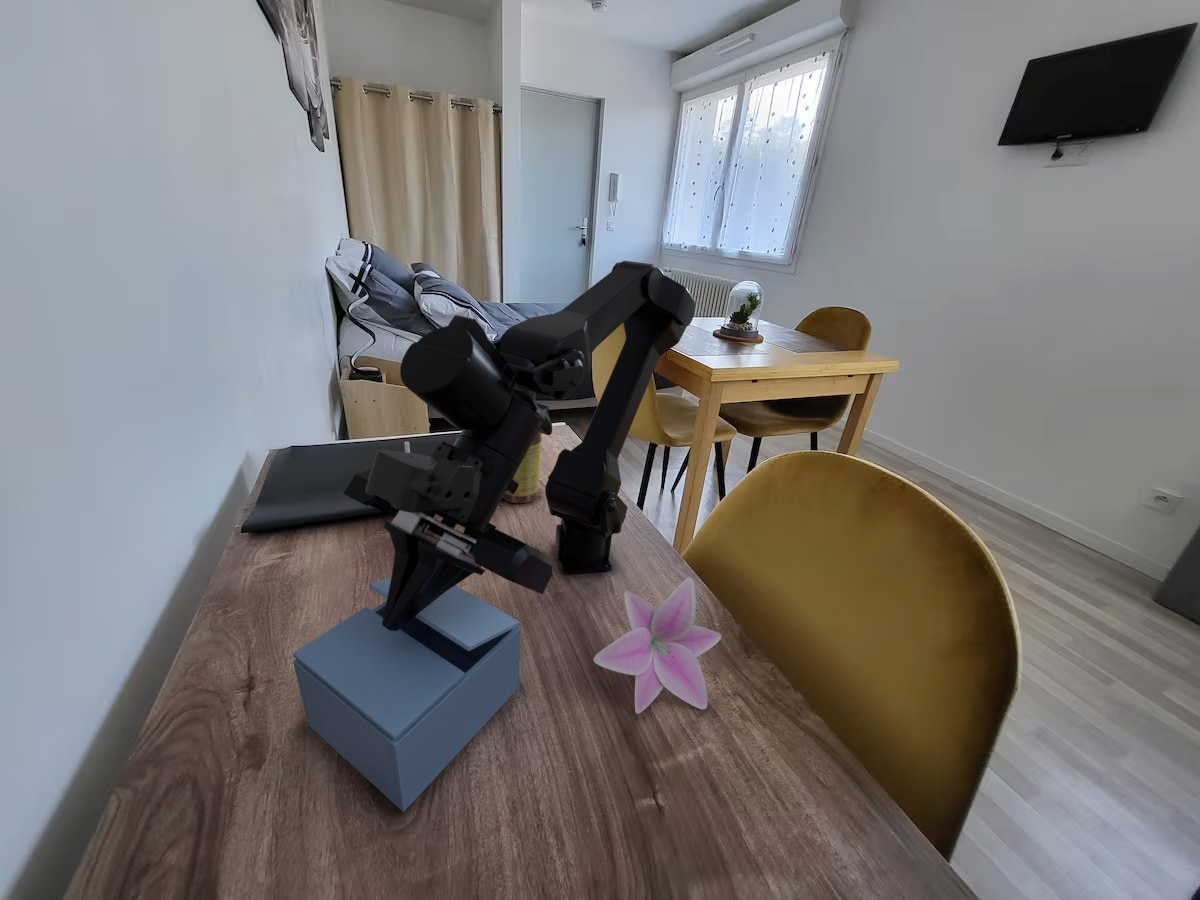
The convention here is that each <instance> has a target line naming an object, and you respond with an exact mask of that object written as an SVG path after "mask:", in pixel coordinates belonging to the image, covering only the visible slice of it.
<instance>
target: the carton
mask: <svg viewBox="0 0 1200 900" xmlns="http://www.w3.org/2000/svg"><path fill="white" fill-rule="evenodd" d="M386 601H387V600H385V601H383V602H382V603H381V604H379V605H378V606H376V607H375V608H373V609H371V608H369V607H367V606H364V607H363V608H361V609H360V610H359V611H357V612H355V613H354V614H352V615H351V616H349V617H348V618H346V619H344V620H343V621H341V622H339V623H338V624H336V625H334V626H333V627H332V628H330V629H328V630H327V631H324V633H322V634H320V635H318V636H317V637H316V638H313V640H310V641H309V642H308V643H306V644H305V645H303V646H301V647H300V648H298V649H296V650H295V651H294V652H292V657H293V658H294V660H292V663H293V667H294V671H295V675H296V679H297V680H296V681H297V683H298V688H299V693H300V696H301V701H302V705H303V709H304V714H305V717H306V722H307V725H308V727H309V728H310V729H312V731H314V732H315V733H316V734H317V735H318V736H319V737H320V738H322V739H323V740H324V741H325V742H326V743H327V744H328V745H329V746H330V747H331V748H332V749H334V751H336V752H337V754H339V755H340V756H341V757H342V758H343V759H344V760H346V761H347V762H348V763H349V764H350V765H351V766H352V767H353V768H354V769H355V770H356V771H357V772H359V774H360V775H362V776H363V777H364V778H365V779H366V780H367V781H368V782H370V783H371V784H372V785H373V786H374V787H375V788H376V789H377V790H378V791H379V792H380V793H382V794H383V795H384V796H385V797H386V798H387V799H388V800H389V801H390V802H391V803H393V804H394V805H395V807H397V808H398V809H399V810H400V811H401V812H402V813H404V812H405V811H407V809H408V808H409V807H410V806H411V805H412V804H413V803H414V802H415V801H416V799H417V798H418V797H419V796H420V795H422V794H423V792H424V791H425V790H426V789H427V788H428V787H429V786H430V784H431V783H433V781H434V780H435V779H436V778H437V777H438V776H439V775H440V774H441V773H442V771H443V770H444V769H445V768H446V767H447V766H448V765H449V764H450V763H451V762H452V761H453V760H454V759H455V758H456V756H458V754H459V753H460V752H461V751H462V750H463V749H464V748H465V747H466V746H467V744H469V742H470V741H471V740H472V739H473V738H474V737H475V736H476V735H477V734H478V733H479V732H480V731H481V729H483V727H484V726H485V725H486V724H487V723H488V722H489V721H490V720H491V719H492V718H493V716H494V715H495V714H497V712H498V711H499V710H500V709H501V708H502V707H503V706H504V705H505V703H507V701H508V700H509V699H510V698H511V697H512V696H513V695H514V694H515V693H516V692H517V691H518V689H519V686H520V685H519V681H520V680H519V679H520V648H521V646H520V645H521V644H520V643H521V628H519V626H517V627H515V628H513V629H511V630H509V631H507V632H505V633H503V634H501V635H499V636H497V637H495V638H493V639H491V640H490V641H488V642H486V643H484V644H482V645H480V646H478V647H476V648H474V649H472V650H470V651H467V650H466V649H464V648H463V647H461V646H460V645H458V644H457V643H455V642H453V641H452V640H450V639H449V638H447V637H446V636H444V635H442V634H441V633H439V632H438V631H436V630H435V629H433V628H432V627H430V626H428V625H427V624H425V623H424V622H422V621H421V620H419V619H417V618H416V617H414V618H412V619H411V620H410V621H409V622H407V623H406V624H405V625H404V626H402V627H401V628H400V629H399V630H397V631H391V630H388V629H386V628H385V627H384V626H382V621H383V616H384V611H385V606H386Z"/></svg>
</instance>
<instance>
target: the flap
mask: <svg viewBox="0 0 1200 900" xmlns="http://www.w3.org/2000/svg"><path fill="white" fill-rule="evenodd" d="M390 582H391V577H388V578H385V579H382V580H377V581H373V582H369V585H368V588H369V589H371V590H372V591H374V592H375V593H377V594H378V595H380V596H382V597H383V598H385V599H386V600H387V596H388V592H389V587H390ZM415 617H416V618H417V619H419V620H421V621H422V622H424V623H425V624H427V625H428V626H430V627H432V628H433V629H435V630H436V631H438V632H439V633H441V634H442V635H444V636H446V637H447V638H449V639H450V640H452V641H453V642H455V643H457V644H458V645H460V646H461V647H463V648H464V649H466V650H467V651H470V650H472V649H474V648H476V647H478V646H480V645H482V644H484V643H486V642H488V641H490V640H491V639H493V638H495V637H497V636H499V635H501V634H503V633H505V632H507V631H509V630H511V629H513V628H515V627H519V626H520V623H521V622H520V621H519V620H518V619H516V618H514V617H512V616H511V615H509V614H508V613H506V612H503V611H502V610H501V609H498V608H497V607H495V606H493V605H492V604H490V603H488V602H486V601H485V600H483V599H481V598H479V597H477V596H476V595H474V594H472V593H470V592H468V591H467V590H465V589H463V588H461V587H460V586H458V585H455V586H454V587H452V588H451V589H449V590H448V591H446V592H445V593H443V594H442V595H441V596H440V597H438V598H437V599H436V600H434V601H433V602H432V603H431V604H430V605H428V606H427V607H426V608H425V609H423V610H422V611H421V612H420V613H418V614H417V615H416V616H415Z"/></svg>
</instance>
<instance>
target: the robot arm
mask: <svg viewBox="0 0 1200 900" xmlns="http://www.w3.org/2000/svg"><path fill="white" fill-rule="evenodd" d="M695 311H696V301H695V298H694V297H693V296H692V294H691V292H690V291H689V289H688V288H687V287H685V285H682V284H681V283H680V282H677V280H676V281H675V280H674V279H672V278H671V277H669V276H667V275H666V274H665V273H664V272H663V270H661V268H660V267H658V266H656V265H655V264H653V263H647V262H638V261H633V260H632V261H631V260H622V261H618V262H615V264H614V265H613V267H612V269H611V271H610V272H609V273H608V274H606V275H605V276H604V277H603V278H601V279H600V280H598V281H597V282H596V283H595V284H594V285H592V286H591V287H589V288H588V289H587V290H586V291H584V292H583V293H582V294H580V295H579V296H578V297H577V298H576V299H574V300H573V301H571V302H570V303H569V304H568V305H566V306H565V307H564V308H562V309H561V310H559V311H557V312H555V313H550V314H544V315H537V316H533V317H530V318H527V319H525V320H523V321H520V322H518V323H516V324H514V325H512V326H510V327H508V328H507V329H506V330H505V332H504V333H503V334H502V335H501V337H500V338H497V339H495V340H493V341H491V340H490V339H489V337H488V335H487V333H486V331H485V329H484V328H483V326H482V325H481V324H480V322H479V321H478V320H477V319H476V318H472V317H468V316H464V315H458V314H455V315H454V316H453V317H452V318H451V320H450V322H449V323H448V325H445V326H442V327H439V328H435V329H433V330H430V332H428V333H426V334H425V335H423V336H422V337H420V338H419V339H418V340H417V341H416V342H412V343H411V344H410V345H409V346H408V348H407V350H406V351H405V353H404V355H403V357H402V359H401V363H400V366H399V367H400V368H399V376H400V379H401V380H400V381H401V382H402V384H403V385H404V387H405V388H407V389H408V390H409V391H410V392H412V393H413V394H414V395H415V396H417V398H418V399H420V400H421V401H422V402H424V403H425V404H426V405H427V406H429V407H430V408H431V409H432V410H433V411H435V412H436V413H437V414H438V415H440V417H442V418H443V419H445V421H447V422H448V423H449V424H450V425H452V426H453V427H455V428H456V429H459V430H461V431H460V433H459V434H458V436H457V438H456V440H455V441H454V442H453V444H451V443H448V442H445V441H442V443H441V444H438V445H437V446H436V447H435V449H434V450H433V452H432V454H431V455H424V454H419V453H415V452H413V453H412V452H410V453H406V452H405V451H398V450H397V451H396V450H388V449H377V450H376V452H375V456H374V459H373V464H372V467H371V469H369V468H368V469H366V470H363V471H360V472H357V473H356V474H354V476H353V477H352V478H351V480H350V482H349V483H348V485H347V486H346V488H345V489H344V491H343V492H342V493H343V494H342V495H344V496H347V497H349V498H350V499H352V500H354V501H356V502H358V503H360V504H362V505H364V506H367V507H372V508H374V509H376V510H378V511H380V512H382V513H385V514H387V515H389V516H391V517H393V519H392V521H391V523H390V522H388V521H383V529H384V530H386V531H388V533H389V535H390V539H391V541H392V545H393V549H394V556H393V564H392V573H391V577H390V578H391V582H390V587H389V592H388V596H387V599H386V600H385V601H386V606H385V611H384V616H383V621H382V626H384V627H385V628H386V629H388V630H391V631H397V630H399V629H400V628H401V627H402V626H404V625H405V624H406V623H407V622H409V621H410V620H411V619H412V618H414V617H415V616H416V615H417V614H418V613H420V612H421V611H422V610H423V609H425V608H426V607H427V606H428V605H430V604H431V603H432V602H433V601H434V600H436V599H437V598H438V597H440V596H441V595H442V594H443V593H445V592H446V591H448V590H449V589H451V588H452V587H454V586H455V585H456V586H458V584H460V583H461V582H463V581H464V580H466V579H467V578H469V577H470V576H472V575H473V574H476V575H478V576H483V574H484V573H485V572H486V570H487V571H490V572H491V573H493V574H495V575H497V576H498V577H501V578H503V579H505V580H507V581H509V582H511V583H513V584H515V585H518V586H521V587H523V588H526V589H528V590H531V591H533V592H536V593H538V594H541V595H544V593H545V591H546V588H547V587H548V585H549V583H550V581H551V579H552V576H553V570H554V569H553V568H554V566H553V559H552V557H551V556H549V555H547V554H546V553H544V552H542V551H540V550H538V549H537V548H535V547H533V546H532V545H530V544H528V543H526V542H524V541H523V540H520V539H518V538H516V537H514V536H512V535H509V534H508V533H505V532H504V531H501V530H499V529H497V526H496V525H494V524H493V523H492V522H491V520H492V518H493V516H494V514H495V513H496V511H497V508H498V507H499V505H500V503H501V501H502V499H503V496H504V494H505V492H509V493H511V494H513V495H514V494H515V492H516V490H517V488H518V486H519V484H518V483H517V482H515V481H514V480H513V477H514V475H515V474H516V472H517V470H518V468H519V466H520V464H521V462H522V461H523V459H524V457H525V455H526V453H527V451H528V450H529V448H530V446H531V444H532V442H533V440H534V438H535V437H536V435H537V433H538V432H539V433H541V435H542V434H543V435H546V436H551V435H552V433H553V423H552V420H551V418H550V413H549V411H550V408H549V406H548V405H546V404H543V403H540V402H537V401H535V402H534V401H533V400H532V399H531V397H530V396H529V395H527V394H526V393H524V392H522V391H519V390H514V389H513V388H514V387H517V388H520V389H524V390H527V391H530V392H534V393H536V394H538V395H541V396H544V397H548V398H551V399H555V400H560V401H562V400H565V399H567V398H568V397H570V396H571V395H572V394H574V392H575V391H576V390H577V388H578V387H579V386H580V385H581V383H582V382H583V380H584V379H585V378H586V377H587V375H588V374H589V373H590V371H591V364H592V363H591V359H592V353H594V351H595V350H596V349H597V348H598V347H599V345H601V344H602V343H603V342H604V341H605V340H606V339H607V338H608V337H609V336H611V334H613V332H615V331H616V330H617V329H618V328H619V327H620V326H621V325H622V324H623V330H624V335H625V336H624V337H625V340H624V342H623V345H622V347H621V350H620V351H619V354H618V357H617V359H616V361H615V364H614V366H613V369H612V371H611V373H610V376H609V377H608V380H607V383H606V385H605V388H604V390H603V392H602V394H601V397H600V399H599V401H598V404H597V406H596V408H595V410H594V413H593V416H592V418H591V420H590V423H589V425H588V427H587V430H586V431H585V434H584V437H583V439H582V441H581V442H580V443H579V444H578V445H576V446H575V447H573V448H572V449H567V448H564V449H562V450H561V451H560V452H559V454H558V455H557V459H556V462H555V464H554V467H553V469H552V471H551V472H550V474H549V475H548V477H547V481H546V484H545V488H544V489H545V490H544V493H545V494H544V495H545V497H546V501H547V506H548V509H549V514H550V516H553V517H557V518H559V519H560V523H559V524H557V525H556V528H555V541H554V542H555V543H554V552H555V556H556V560H557V562H558V563H560V565H561V569H562V572H563V574H564V575H574V574H575V575H576V574H577V575H578V574H588V573H599V572H601V573H602V572H609V571H612V570H613V564H612V561H611V560H612V559H611V558H610V556H611V555H610V554H611V548H612V547H611V546H612V539H613V535H614V534H620V533H621V532H622V526H623V524H624V522H625V519H626V517H627V512H628V505H626V503H625V502H624V501H623V500H622V498H621V497H620V496H619V493H620V489H621V486H622V479H621V472H620V466H619V456H620V453H621V452H622V449H623V447H624V444H625V442H626V440H627V437H628V435H629V432H630V431H631V427H632V425H633V422H634V420H635V417H636V415H637V413H638V410H639V408H640V406H641V403H642V401H643V399H644V396H645V393H646V390H647V389H648V386H649V383H650V381H651V379H652V376H653V374H654V372H655V369H656V366H657V364H658V362H659V360H660V357H661V356H663V355H664V354H665V353H667V352H668V351H670V350H671V349H673V348H674V347H675V346H677V345H678V344H679V343H680V342H681V339H682V338H683V335H684V333H685V331H686V329H687V327H689V326H690V325H691V323H692V321H693V320H694V316H695ZM435 516H438V517H440V518H442V519H441V521H439V520H437V519H436V518H435ZM457 525H458V526H459V527H462V528H464V530H463V532H462V531H461V530H458V529H456V527H457Z"/></svg>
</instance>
